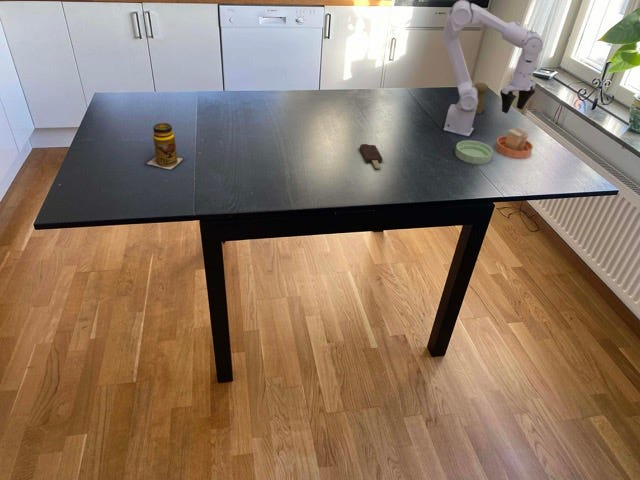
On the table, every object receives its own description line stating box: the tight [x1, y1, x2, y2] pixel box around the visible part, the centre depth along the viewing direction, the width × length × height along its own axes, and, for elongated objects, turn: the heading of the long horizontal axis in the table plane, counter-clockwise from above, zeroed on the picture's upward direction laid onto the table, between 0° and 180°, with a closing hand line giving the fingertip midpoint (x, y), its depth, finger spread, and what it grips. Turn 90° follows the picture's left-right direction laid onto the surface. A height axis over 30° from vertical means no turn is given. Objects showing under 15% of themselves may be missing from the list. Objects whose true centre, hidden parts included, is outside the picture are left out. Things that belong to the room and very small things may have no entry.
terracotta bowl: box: [494, 135, 534, 160], centre depth 174 cm, size 12×12×3 cm
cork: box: [474, 82, 489, 115], centre depth 199 cm, size 6×6×11 cm
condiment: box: [146, 122, 184, 170], centre depth 151 cm, size 7×8×12 cm
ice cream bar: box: [359, 143, 383, 170], centre depth 164 cm, size 5×2×15 cm
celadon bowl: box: [454, 140, 494, 165], centre depth 169 cm, size 12×12×3 cm
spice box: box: [504, 127, 530, 151], centre depth 173 cm, size 5×5×7 cm
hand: (512, 110), depth 177 cm, fingers open, 7 cm apart
